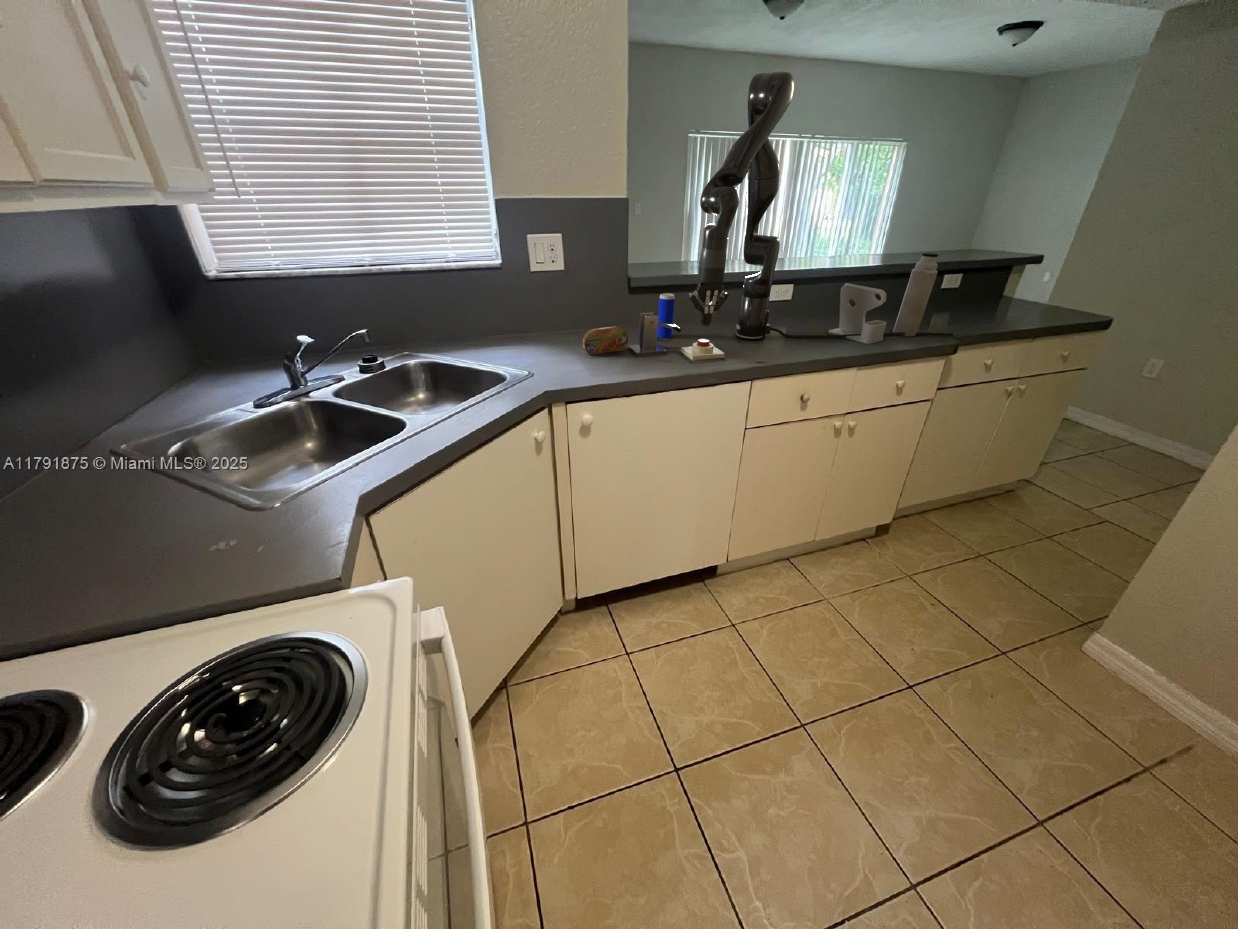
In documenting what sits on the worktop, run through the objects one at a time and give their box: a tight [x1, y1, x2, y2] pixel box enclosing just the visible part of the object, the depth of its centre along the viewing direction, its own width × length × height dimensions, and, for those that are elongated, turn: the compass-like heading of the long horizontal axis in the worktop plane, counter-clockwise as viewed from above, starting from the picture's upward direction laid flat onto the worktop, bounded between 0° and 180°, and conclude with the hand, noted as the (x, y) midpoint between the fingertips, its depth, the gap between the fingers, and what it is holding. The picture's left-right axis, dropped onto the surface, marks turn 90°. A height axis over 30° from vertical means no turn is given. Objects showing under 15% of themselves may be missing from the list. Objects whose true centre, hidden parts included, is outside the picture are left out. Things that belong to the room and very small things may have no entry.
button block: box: [680, 341, 726, 361], centre depth 153 cm, size 11×9×4 cm
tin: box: [582, 325, 629, 356], centre depth 152 cm, size 15×3×8 cm, turn 117°
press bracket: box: [628, 312, 667, 355], centre depth 155 cm, size 10×8×12 cm
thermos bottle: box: [892, 252, 939, 337], centre depth 176 cm, size 8×8×28 cm
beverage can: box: [657, 292, 676, 340], centre depth 167 cm, size 5×5×15 cm
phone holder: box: [828, 282, 887, 345], centre depth 174 cm, size 17×10×18 cm, turn 34°
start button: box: [697, 338, 711, 347], centre depth 152 cm, size 4×4×2 cm
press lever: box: [643, 315, 682, 333], centre depth 154 cm, size 12×5×2 cm, turn 109°
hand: (705, 325), depth 149 cm, fingers closed
